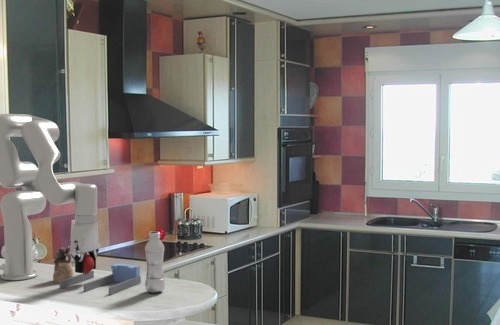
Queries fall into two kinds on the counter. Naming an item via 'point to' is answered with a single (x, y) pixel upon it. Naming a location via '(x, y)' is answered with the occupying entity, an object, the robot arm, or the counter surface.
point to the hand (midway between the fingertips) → (85, 270)
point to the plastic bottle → (154, 263)
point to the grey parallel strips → (100, 282)
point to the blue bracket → (124, 272)
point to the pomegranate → (87, 263)
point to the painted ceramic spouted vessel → (62, 265)
